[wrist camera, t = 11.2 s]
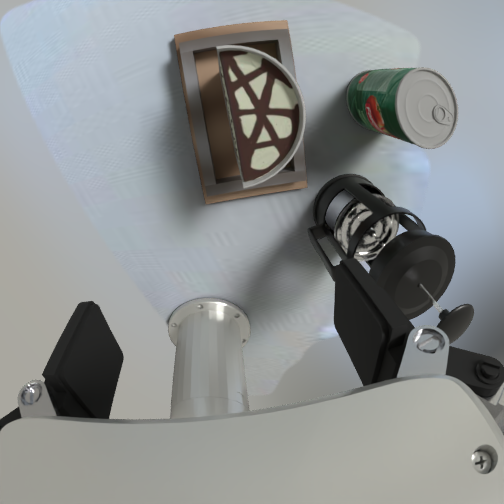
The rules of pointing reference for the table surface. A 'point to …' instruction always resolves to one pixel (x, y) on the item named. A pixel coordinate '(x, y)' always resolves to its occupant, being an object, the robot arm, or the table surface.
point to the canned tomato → (405, 105)
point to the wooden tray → (215, 113)
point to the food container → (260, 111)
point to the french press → (390, 250)
